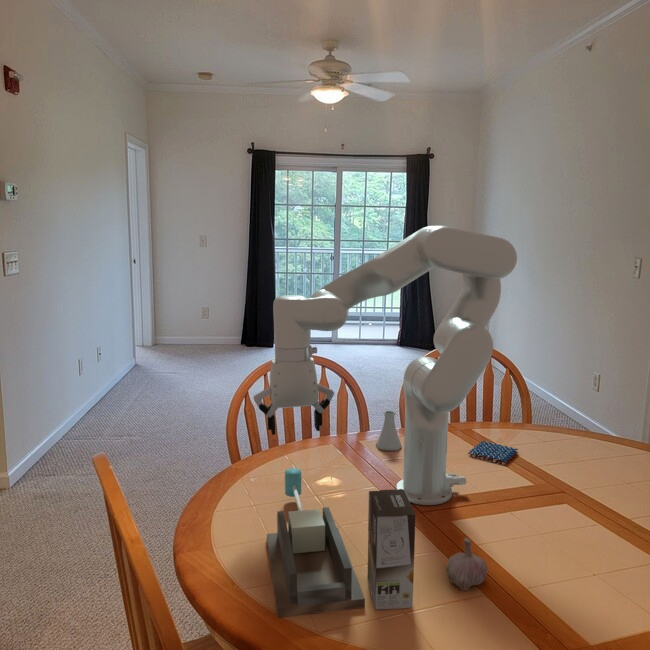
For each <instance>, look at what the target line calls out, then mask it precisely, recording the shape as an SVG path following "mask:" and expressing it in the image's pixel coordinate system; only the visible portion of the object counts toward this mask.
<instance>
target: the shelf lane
mask: <svg viewBox="0 0 650 650" xmlns="http://www.w3.org/2000/svg"><path fill="white" fill-rule="evenodd" d="M332 514H333V513H332V512H331V510H330V507H329V506H326V507H325V506H324V507H322V518H323V521H324V524H325V551H315V552H305V553H294V554H293V553H292V548H291V543H290V539H289V534H288V526H287V525H288V524H287V522H286V516H285V512H284V510H278V511H277V513H276V517H277V518H276V519H277V520H276V521H277V522H276V523H277V524H276V525H277V528H276V529H277V532H272V533H266V546H267V553H268V558H269V559H268V560H269V565H270V573H271V574H270V575H271V580H272V587H273V595H274V601H275V603H274V604H275V610H276V616H277V618H284V617H294V616H302V615H311V614H317V613H327V612H337V611H345V610H352V609H360V608H365V607H366V598H365V595H364V592H363V590H362V587H361V585H360V583H359V580H358V577H357V575H356V572H355V569H354V566H353V563H352V560H351V558H350V556H349V553H348V550H347V547H346V545H345V543H344V540H343V537H342V535H341V533H340V529H339V528H338V526H336V525H337V524H336V523H335V520H334V517H333V515H332Z"/></svg>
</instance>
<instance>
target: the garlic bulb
mask: <svg viewBox="0 0 650 650" xmlns="http://www.w3.org/2000/svg"><path fill="white" fill-rule="evenodd" d="M463 542H464V552H456V553H454V554H452V555H451V556H450V557H449V559H448V560H447V561H448V562H447V564H446V572H447V574H448V578H449V580H450V582H451V583H453V584H454V585H456V586H457V587H458V588H459V589H460V590H463V591H465V590H466V591H467V590H468V589H470V588H471V586H478V585H480V584H482V583H483V582H484V581H485V580H486V578H487V577H486V576H487V574H488V565H487V562H486V561H485V559H483V558H482V557H480V556H478V555H476V554H474V553H473V552H472V546H471V545H472V543H471V539H469V538H468V537H465V538H464V539H463Z"/></svg>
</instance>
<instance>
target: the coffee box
mask: <svg viewBox="0 0 650 650" xmlns="http://www.w3.org/2000/svg"><path fill="white" fill-rule="evenodd" d="M367 515H368V518H367V519H368V520H367V522H368V526H367V527H368V528H367V529H368V531H367V532H368V533H367V535H368V537H367V541H368V543H367V577H366V578H367V580H368V585H369V589H370V594H371V597H372V602H373V605H374V609H375V610H392V609H393V610H394V609H396V610H397V609H411V608H412V607H413V603H414V602H413V601H414V600H413V599H414V575H415V574H414V571H415V570H414V569H415V552H416V551H415V548H416V547H415V546H416V544H415V543H416V520H417V519H416V515H417V514H416V512H415V510H414V508H413V506H412V504H411V502H409V500H408V498H407V495H406V493H405V491H404V489H396V488H394V489H380V490H370V491H368V514H367Z"/></svg>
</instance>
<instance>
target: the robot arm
mask: <svg viewBox="0 0 650 650" xmlns="http://www.w3.org/2000/svg"><path fill="white" fill-rule="evenodd" d="M517 261H518V255H517V251H516V248H515V247H514V245H513V244H512V243H511V242H510V241H509V240H507V239H505V238H502V237H499V236H498V237H497V236H494V235H488V234H483V233H478V232H473V231H470V230H464V229H462V228H456V227H451V226H447V225H428V226H425V227H422V228H420V229H418V230H417V231H415V232H413V233H412V234H410V235H408V236H407V237H405V238H403V240H401V241H399V242H398V243H396V244H394V245H392V246H391V247H389V248H388V249H386V250H385V251H383V252H381V253H380V254H378V255H377V256H375V257H373V258H372V259H370V260H368V261H365V262H364V263H362V264H361V265H358V266H357V267H355V268H353V269H351V270H349V271H348V272H346V273H344V274H342V275H340V276H339V277H337V278H335V279H333V280H332V281H330V282H329V283H327V284H326V285H324V286H322V287H320V288H319V289H317V291H315V292H314V293H312V295H311V296H310V297H309V298H308V297H306V296H304V295H299V294H298V295H296V294H289V295H288V294H286V295H281V296H277V297H275V299H274V300H273V305H272V306H273V307H272V312H273V314H272V315H273V336H274V337H273V339H274V340H273V341H274V358H273V359H271V362H270V369H269V387H266V388H265V389H263V390H262V391H259V392H258V393H256V394H255V395H254V396H253V400H254V402H255V404H256V406H257V407H258V409H259V410H260V411H261V412H262V413H263V414H265V415H266V417H267V430H268V431H271V432H270V433H271V434H272V436H275V435H276V419H275V418H276V417H275V413H276V411H277V410H278V409H287V408H299V407H309V406H312V407H313V408H314V411H313V416H314V417H313V420H314V424H313V425H314V429H315V431H317V432H320V431H321V427H323V413H324V411H325V410H326V408H327V407H328V406H329V405H330V404H331V401H332V399H333V397H334V395H335V392H334V390H333V389H332V388H328V387H326V386H324V385H323V384H320V383H318V377H317V370H316V365H315V359H314V358H313V357H312V356H313V355H314V354H318V347H316V346H312V345H311V331H320V332H321V331H322V332H333V331H337V330H339V329H341V328H342V327H343V326H344V325H345V324H346V322H347V319H348V316H349V310H350V309H351V308H353V307H355V306H357V305H358V304H360V303H362V302H365V301H367V300H371V299H374V298H378V297H384V296H388V295H391V294H393V293H395V292H398V291H399V290H401V289H402V288H404V287H405V286H407V285H409V284H410V283H412V282H413V281H415V280H417V279H418V278H419V277H421V276H423V275H424V274H426V273H428V272H429V271H431V270H433V269H434V268H437V269H442V270H446V271H450V272H454V273H458V274H462V286H461V290H460V292H459V293H458V295H457V298H456V300H455V301H454V302H453V305H452V306H451V307H450V308H449V309H448V312H447V313H446V315H445V316H444V318H443V319H442V321H441V322H440V324H439V325H438V327H437V329H436V330H435V332H434V334H433V345H434V348H435V349H436V351H437V352H438V353H439V354H440V356H439V357H438V359H437V358H436V357H432V356H419V357H416V358H415V359H413V360H412V361H410V363H409V364H408V365H407V367H406V368H405V371H404V375H403V395H404V409H405V410H404V413H405V414H404V447H403V478H402V479H401V480H399V481H398V482H397V483H396V486H395V489H404V491H405V493H406V495H407V498H408V500H409V502H410V504H411V503H413V504H416V505H421V506H435V505H441V504H444V503H447V502H448V501H450V500H451V498H452V496H453V490H452V488H453V487H454V486H465V485H466V484H467V478H466V477H465V476H464V475H462V476H459V475H458V476H457V474H456V473H455V472H451V473H447V457H448V456H447V455H448V454H447V453H448V435H449V434H448V431H449V413H450V412H453V411H454V410H455V409H457V408H458V407H459V406H460V405H461V404H462V403H463V402H464V400H465V399H466V397H467V396H468V394H469V393H470V392H471V390H472V389H473V387H474V385H475V384H476V383H477V381H478V380H479V378H480V377H481V375H482V374H483V372H484V370H485V369H486V368H487V366H488V364H489V362H490V360H491V358H492V355H493V351H494V341H493V338H492V335H491V333H490V332H489V331H488V330H487V329H486V327H487V326H488V324H489V323H490V320H491V319H492V317H493V316H494V314H495V312H496V310H497V308H498V307H499V306H498V305H499V303H500V299H501V293H502V285H501V283H502V282H501V280H502V279H503V278H506V277H507V276H509V275H510V274H511V273H512V272H513V271H514V269H515V267H516V264H517ZM319 392H320V393H322V394H325V396H324V398H323V399H322V400H321V401H320V402H319ZM268 396H269V398H270V399H269V400H270V403H269V405H268V406H267V405H266V404H265V403H264V402H263V399H265V398H267V397H268Z"/></svg>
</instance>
